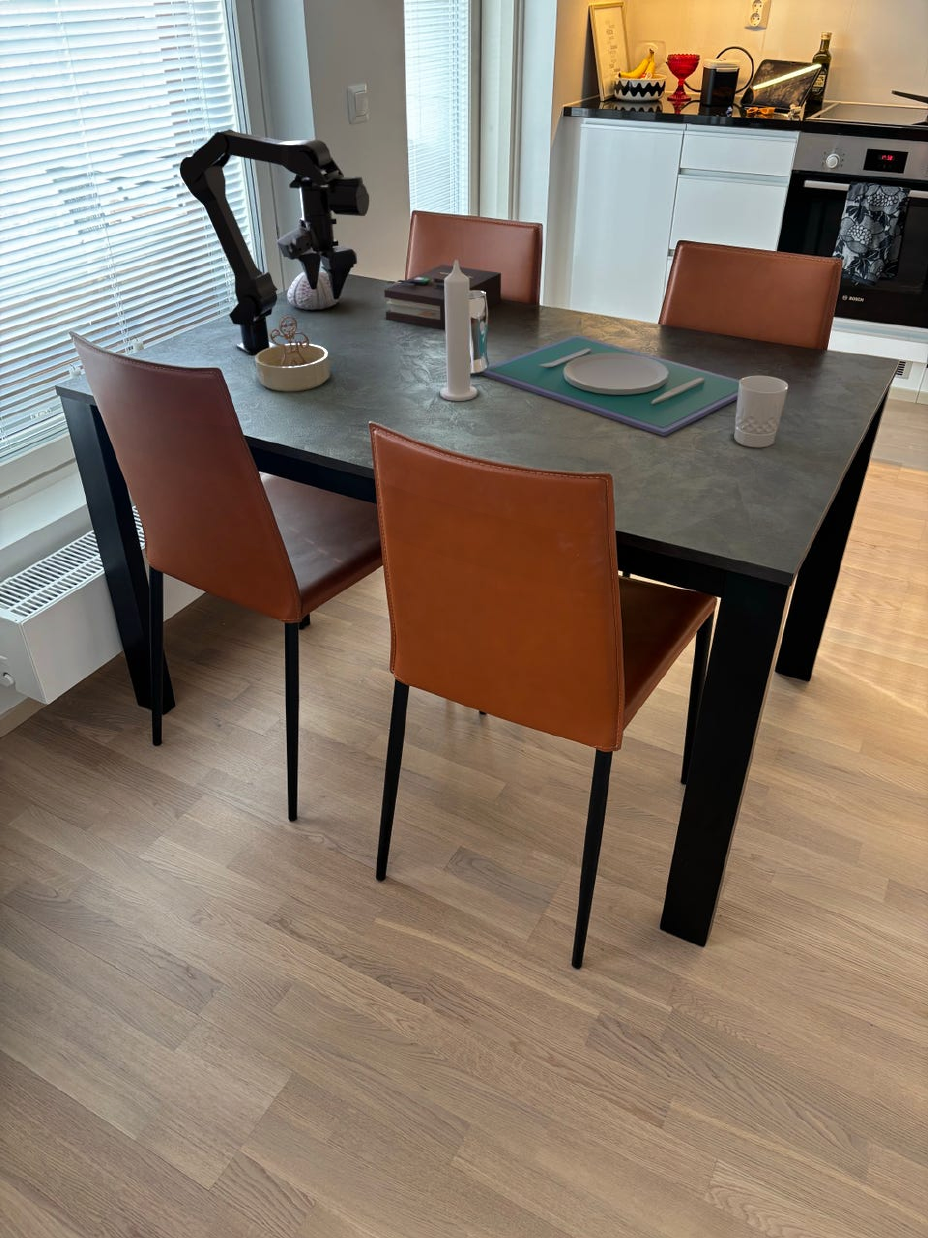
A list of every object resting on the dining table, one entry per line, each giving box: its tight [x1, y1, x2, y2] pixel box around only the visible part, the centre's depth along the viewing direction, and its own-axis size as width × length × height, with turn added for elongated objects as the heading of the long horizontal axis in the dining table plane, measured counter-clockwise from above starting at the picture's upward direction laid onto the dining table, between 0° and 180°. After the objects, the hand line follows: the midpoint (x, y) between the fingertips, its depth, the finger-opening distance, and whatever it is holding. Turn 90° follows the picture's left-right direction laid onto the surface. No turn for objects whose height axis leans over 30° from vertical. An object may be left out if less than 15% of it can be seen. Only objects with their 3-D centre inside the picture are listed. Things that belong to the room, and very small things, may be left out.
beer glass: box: [469, 290, 490, 375], centre depth 187 cm, size 7×7×15 cm
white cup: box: [733, 375, 789, 448], centre depth 159 cm, size 8×8×10 cm
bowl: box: [254, 343, 331, 392], centre depth 187 cm, size 14×14×5 cm
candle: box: [439, 259, 478, 402], centre depth 174 cm, size 7×7×25 cm
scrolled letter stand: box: [269, 315, 310, 367], centre depth 185 cm, size 9×4×12 cm, turn 127°
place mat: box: [480, 334, 741, 437], centre depth 184 cm, size 45×30×2 cm
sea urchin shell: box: [286, 270, 343, 310], centre depth 229 cm, size 13×14×8 cm
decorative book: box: [383, 264, 502, 330], centre depth 224 cm, size 19×8×30 cm
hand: (324, 294), depth 193 cm, fingers open, 9 cm apart
